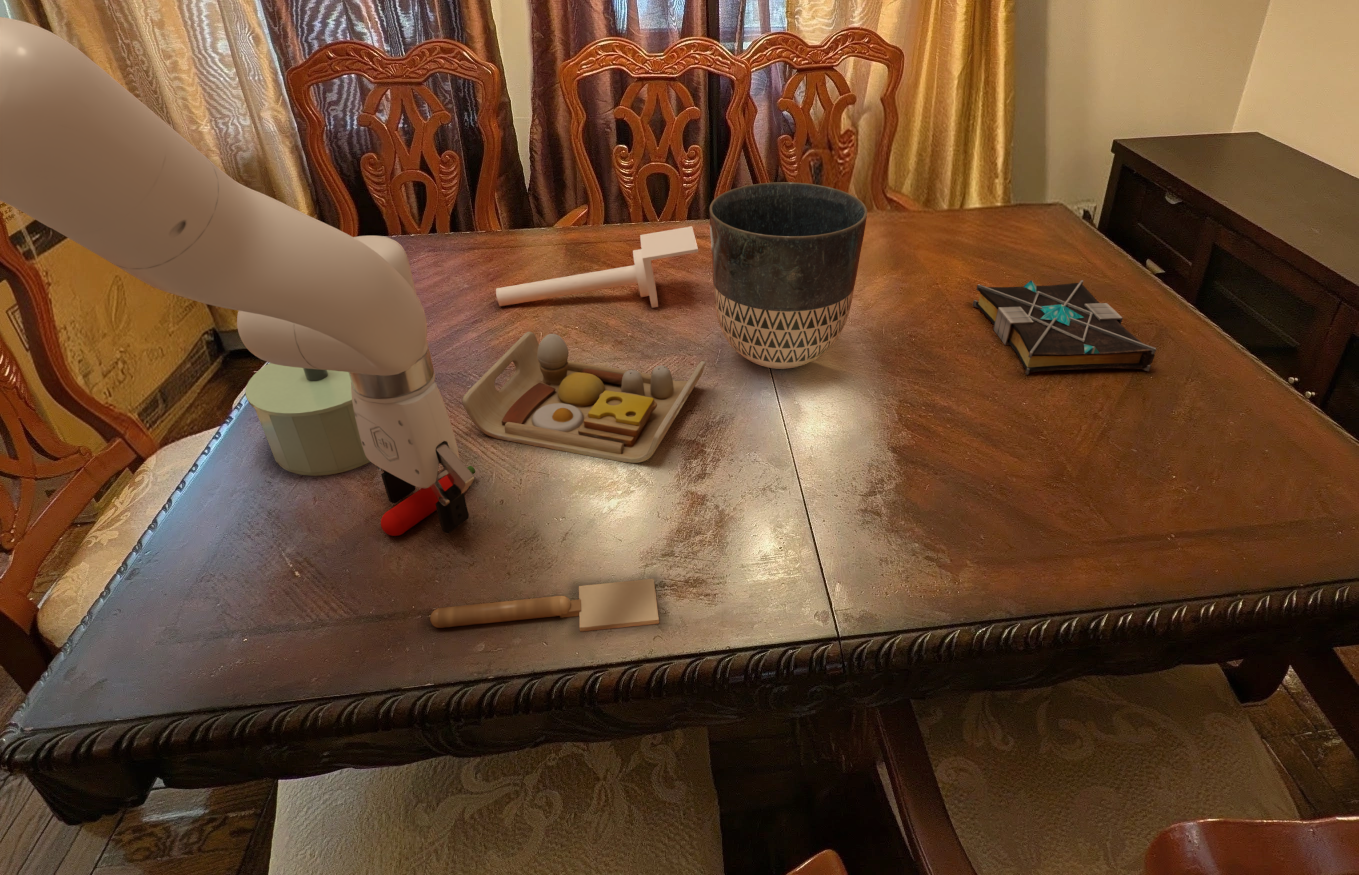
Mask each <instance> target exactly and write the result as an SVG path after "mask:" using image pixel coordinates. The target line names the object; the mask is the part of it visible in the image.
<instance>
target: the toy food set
mask: <svg viewBox="0 0 1359 875" xmlns="http://www.w3.org/2000/svg"><path fill="white" fill-rule="evenodd" d="M569 355H570V352H569V347H568V345H567V343H566V341H565V340H564V339H563V337H561V336H560V335H559V334H556V333H549V334H546V335H545V336H544V337H543V338H542V339H541V341H540V342H539V341H538V339H537V337H536V334H535V333H534V332H532V331H527V332H525V333H524V334H523V335H522V336H521V337H520V338H519V339H518V340H517V341H516V342H515V343H513V345H512V346H511V347H510V348H509V349H508V350H507V351H506V352H505V353H504V354H502V356H500V358H498V359H497V361H496V362H495V363H494V364H493V365H492V366H491V367H490V368H489V369H488V370H487V371H486V372H485V373H484V374H483V375H482V376H481V377H480V378H479V379H478V380H477V381H476V382H475V383H474V384H473V385H472V386H471V387H470V388H469V389H468V390H467V391H466V392H465V394H464V395H463V396H462V399H461V403H462V404H461V405H462V406H463V408H464V410H465V412H466V414H467V415H468V416H469V418H470V420H471V421H472V422H473V424H474V425H475V427H477V428H478V429H479V431H481V433H484V434H485V435H487V436H489V437H491V438H493V439H498V440H503V441H508V442H513V443H517V444H521V445H529V446H534V447H541V448H546V449H551V450H556V451H560V452H561V451H562V452H567V453H573V454H577V455H583V456H587V457H588V456H589V457H594V458H598V459H604V460H610V461H616V462H624V463H630V464H633V463H636V464H637V463H643V462H646V461H647V460H649V459H650V458H651V457H652V456H653V455H654V453H656V450H657V449H658V447H659V446H660V444H661V443H662V441H663V439H664V438H665V436H666V435H667V433H668V431H669V429H670V428H671V426H672V424H673V422H674V421H675V419H676V417H677V416H678V415H679V413H680V411H681V410H682V408H683V406H684V405H685V402H686V401H687V400H688V398H689V396H690V395H691V393H692V392H693V390H694V388H695V386H696V385H697V383H698V382H699V380H700V378H701V377H702V375H703V374H704V370H705V368H706V363H707V361H706V360H700V361H699V363H698V364H697V366H696V367H695V369H694V370H693V372H692V374H691V375H690V377H689V378H688V379H687V380H674V379H673V375H672V372H671V370H670V369H669V367H667V366H666V365H662V364H661V365H657V366H655V367H654V368H653V369H652V371H651V373H645V372H639V371H638V370H636V369H629V370H627V369H621V368H615V367H609V366H603V365H597V364H591V363H585V362H578V361H575V360H574V361H573V360H569V359H568V358H569ZM512 363H513V364H514V367H515V372H514V373H513V375H512V376H511V377H509V379H508V380H507V381H506V382H505V383H504V384H503V385H502V387H500V389H499V390H497V388H496V380H497V378H498V377H499V376H501V375H502V373H503V372H505V370H506V369H507V368H508V367H509V366H510V365H511V364H512Z"/></svg>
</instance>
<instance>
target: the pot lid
mask: <svg viewBox="0 0 1359 875" xmlns="http://www.w3.org/2000/svg"><path fill="white" fill-rule="evenodd" d="M245 397H246V399H247V401H248V404H249V405H250V406H251V407H252V408H254V410H255V409H256V410H258V411H260V412H263V413H266V414H269V415H275V416H283V417H298V416H308V415H315V414H320V413H325V412H329V411H332V410H336V409H339V408H342V407H344V406H347V405H349V404H352V395H351V379H350V376H349V373H348V372H343V371H333V370H319V369H308V368H297V367H289V366H282V365H276V364H272V363H269V362H268V363H267V364H266V365H264V366H263V367H262V368H260V369H258V370H257V371H256V372H255V373H254V374H253V375H252V377H250V378H249V380H248V382H247V384H246V386H245ZM256 410H255V411H256Z"/></svg>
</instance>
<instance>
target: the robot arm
mask: <svg viewBox="0 0 1359 875" xmlns="http://www.w3.org/2000/svg"><path fill="white" fill-rule="evenodd" d="M0 202H2V203H5V204H7V205H9V206H10V207H13V208H15V209H16V210H19V211H20V212H22V213H24V214H25V215H27V216H29V217H31V219H34V220H35V221H37V222H39V223H41V224H42V225H44V226H46V227H48V228H50V229H52V230H54V231H55V232H57V233H59V234H61V235H63V236H65V237H66V238H68V239H69V240H71V241H73V242H74V243H76V244H78V245H80V246H81V247H83V248H85V249H86V250H88V251H90V252H91V253H94V254H95V255H97V256H99V257H100V258H102V259H104V260H106V261H107V262H109V263H111V264H112V265H114V266H115V267H117V268H119V269H120V270H122V271H124V272H126V273H128V274H129V275H130V276H133V277H134V278H135V279H137V280H139V281H140V282H143V283H145V284H147V285H148V286H150V287H152V288H155V289H156V290H159V291H162V292H164V293H165V292H166V293H168V294H171V295H175V296H178V297H182V298H185V299H187V300H191V301H195V302H198V303H201V304H205V305H209V306H213V307H218V308H222V309H228V310H232V311H233V310H234V311H237V316H236V317H237V318H236V326H237V332H238V335H239V338H240V340H241V342H242V344H243V345H244V347H245V348H246V349H247V350H248V351H249V352H250V354H252V355H254V356H255V357H256V358H258V359H259V360H262V361H264V362H267V363H268V364H269V363H272V364H276V365H282V366H289V367H297V368H308V369H319V370H333V371H343V372H348V373H349V376H350V379H351V395H352V403H353V409H354V414H355V419H356V423H357V427H358V431H359V435H360V439H361V443H362V446H363V450H364V453H365V455H366V457H367V458H368V460H369V461H370V462H369V463H371V464H373V465H375V467H376V469H377V470H378V472H380V473H381V474H380V476H381V479H382V483H383V487H384V490H385V492H386V496H387V499H388V502H390V503H391V504H398V502H400V501H401V500H404V499H405V498H406V497H408V496H410V494H413V492H416V488H419V489H421V488H428V487H430V488H431V489H432V491H433V492H434V494H435V496H436V497H437V499H438V500H439V501H438V502H437V503H436V504H435V505H436V508H437V510H436V512H437V516H438V520H439V523H440V527H441V531H442V532H443V533H445V534H450V533H451V532H453V531H454V530H455V529H457V528H458V527H459V526H461V525H463V523H465V522H466V521H468V520H469V518H470V514H469V510H468V506H467V501H466V497H465V493H466V492H467V491H468V490H470V489H471V485H472V484H473V482H474V481H475V476H474V474H472V473H471V471H470V470H469V469H468V468H467V467H468V466H466V465H465V464H464V462H462V460H461V459H460V455H459V449H458V444H457V440H456V435H455V432H454V429H453V426H452V423H451V420H450V419H451V418H450V415H449V413H448V409H447V407H446V404H445V402H444V399H443V397H442V394H441V392H440V389H439V386H438V383H436V382H435V380H436V374H435V368H434V363H433V361H432V355H431V352H430V347H429V343H428V321H427V316H426V313H425V309H424V307H423V305H422V302H421V300H420V298H419V296H418V294H417V291H416V286H415V282H414V276H413V272H412V268H411V264H410V260H409V257H408V254H407V252H406V250H405V248H404V247H403V246H402V245H401V244H400V243H399V242H398V241H396V240H395V239H393V238H390V237H388V236H384V235H359V236H352V235H350V234H348V233H346V232H344V231H342V230H340V229H338V228H336V227H334V226H332V225H330V224H328V223H325V222H323V221H321V220H318V219H317V218H314V217H313V216H311V215H308V214H306V213H304V212H302V211H300V210H298V209H296V208H294V207H292V206H290V205H288V204H286V203H284V202H282V201H280V200H278V199H275V198H273V197H271V196H269V195H267V194H265V193H262V192H260V191H257V190H255V189H252V188H250V187H248V186H246V185H243V184H242V183H239V181H237V180H235V179H233V178H232V177H231V176H230V175H229V174H227V173H226V172H225V171H223V170H222V169H221V168H219V166H217V165H216V164H214V163H213V161H211V160H210V159H209V158H208V157H207V156H206V155H205V154H203V153H202V152H201V151H200V150H199V149H198V148H197V147H195V146H194V145H193V144H192V143H190V142H189V141H188V140H187V139H186V138H184V137H183V136H182V135H181V134H180V133H179V132H178V131H176V130H175V129H174V128H173V127H172V126H171V125H169V124H168V123H167V122H165V120H163V119H162V118H161V117H160V116H159V115H158V114H156V113H155V112H154V111H153V110H152V109H150V108H149V107H148V106H147V105H146V104H144V103H143V102H142V101H141V100H139V98H137V97H136V96H135V95H134V94H133V93H132V92H130V91H129V90H128V89H127V88H126V87H124V86H123V84H121V83H120V82H119V81H117V80H116V79H115V78H114V77H112V75H110V74H109V73H108V72H107V71H106V70H105V69H104V68H102V67H101V66H99V65H98V64H97V63H96V62H95V61H93V60H92V59H91V58H90V57H88V55H86V54H85V53H84V52H82V51H81V50H80V49H79V48H78V47H76V46H74V45H73V44H72V43H70V42H69V41H67V40H66V39H64V38H63V37H61V36H59V35H57V34H56V33H53V32H52V31H50V30H47V29H45V28H43V27H41V26H38V25H36V24H32V23H30V22H28V21H24V20H19V19H16V18H10V17H4V16H0ZM440 465H441V466H442V467H443V468H442V469H440V470H439V466H440ZM446 475H447V476H448V478H449V480H450V481H451V483H452V486H451V487H450V488H448V489H447V490H446V491H444V489H443V488H442V486H441V484H440V483H439V481H438V480H440V479H441V478H443V477H444V476H446Z"/></svg>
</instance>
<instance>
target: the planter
mask: <svg viewBox="0 0 1359 875" xmlns="http://www.w3.org/2000/svg"><path fill="white" fill-rule="evenodd" d="M867 208H868V207H867V206H866V204H865V203H864V202H863V201H862V200H861V199H860V198H858V197H856V196H855V195H853V194H850V193H849V192H847V191H843V190H841V189H839V188H833V187H831V186H825V185H821V184H820V185H819V184H814V183H808V182H807V183H805V182H792V181H791V182H790V181H784V182H782V181H780V182H779V181H778V182H777V181H776V182H763V183H756V184H749V185H743V186H740V187H736V188H733V189H730V190H728V191H725V192H723V193H721V194H719V195H718V196H717V197H715V198H714V199H713V200H712V201H711V203H710V205H709V210H708V211H709V213H708V214H709V234H710V250H711V252H710V254H711V271H712V272H711V273H712V288H713V301H714V302H713V303H714V310H715V314H716V318H717V322H718V325H719V327H720V330H721V332H722V335H723V336H724V338H725V340H726V341H727V343H728V344H729V345H730V346H731V347H732V348H733V349H734V350H735V351H736V352H737V353H738V354H739V355H741V357H743V358H745V359H746V360H747V361H749V362H752V363H754V364H755V365H758V366H761V367H765V368H769V369H776V370H786V369H794V368H798V367H801V366H804V365H806V364H809V363H811V362H813V361H815V360H817V359H818V358H819V357H821V356H822V355H824V354H825V353H827V351H828V350H830V349H831V347H833V345H834V344H835V343H836V342H837V340H838V339H839V337H840V336H841V334H842V331H843V330H844V328H845V325H846V323H847V321H848V317H849V315H850V311H851V307H852V302H853V296H854V291H855V285H856V281H857V276H858V270H859V265H860V264H859V263H860V257H861V252H862V246H863V242H864V237H865V231H866V224H867V218H868V209H867Z"/></svg>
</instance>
